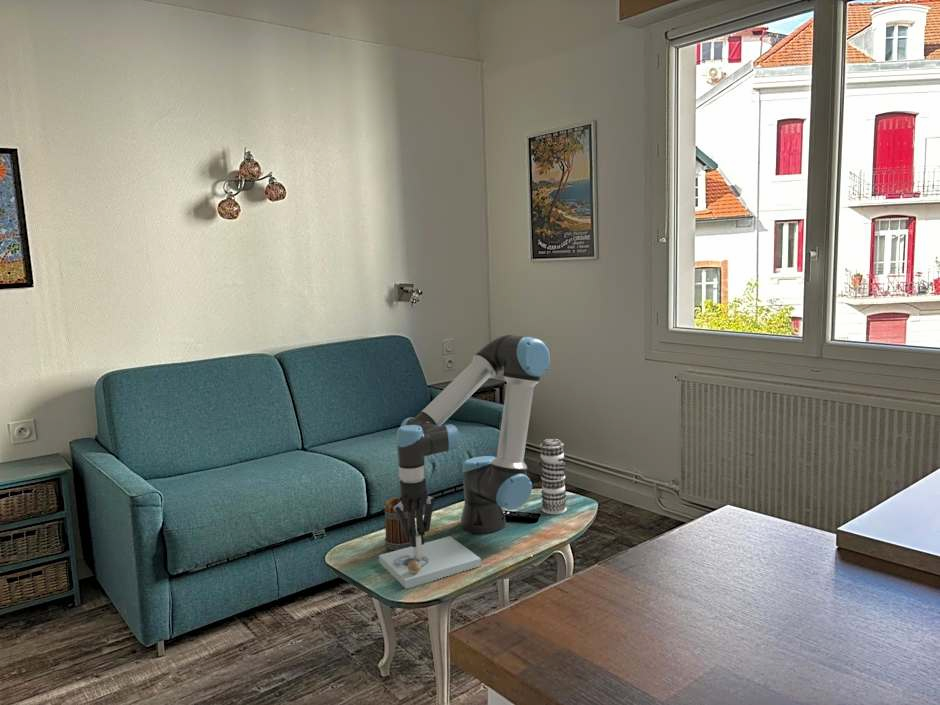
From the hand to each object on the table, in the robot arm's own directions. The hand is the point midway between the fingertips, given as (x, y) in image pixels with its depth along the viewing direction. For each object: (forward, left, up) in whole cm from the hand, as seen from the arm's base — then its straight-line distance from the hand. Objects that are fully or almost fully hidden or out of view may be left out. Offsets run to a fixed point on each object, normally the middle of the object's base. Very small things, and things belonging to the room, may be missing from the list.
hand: (418, 555), depth 213 cm
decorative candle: (-59, -14, -4) cm, 60 cm away
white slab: (-4, 0, -4) cm, 5 cm away
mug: (-4, -19, -4) cm, 20 cm away
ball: (+3, 0, -2) cm, 3 cm away
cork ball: (+4, +7, +1) cm, 9 cm away
